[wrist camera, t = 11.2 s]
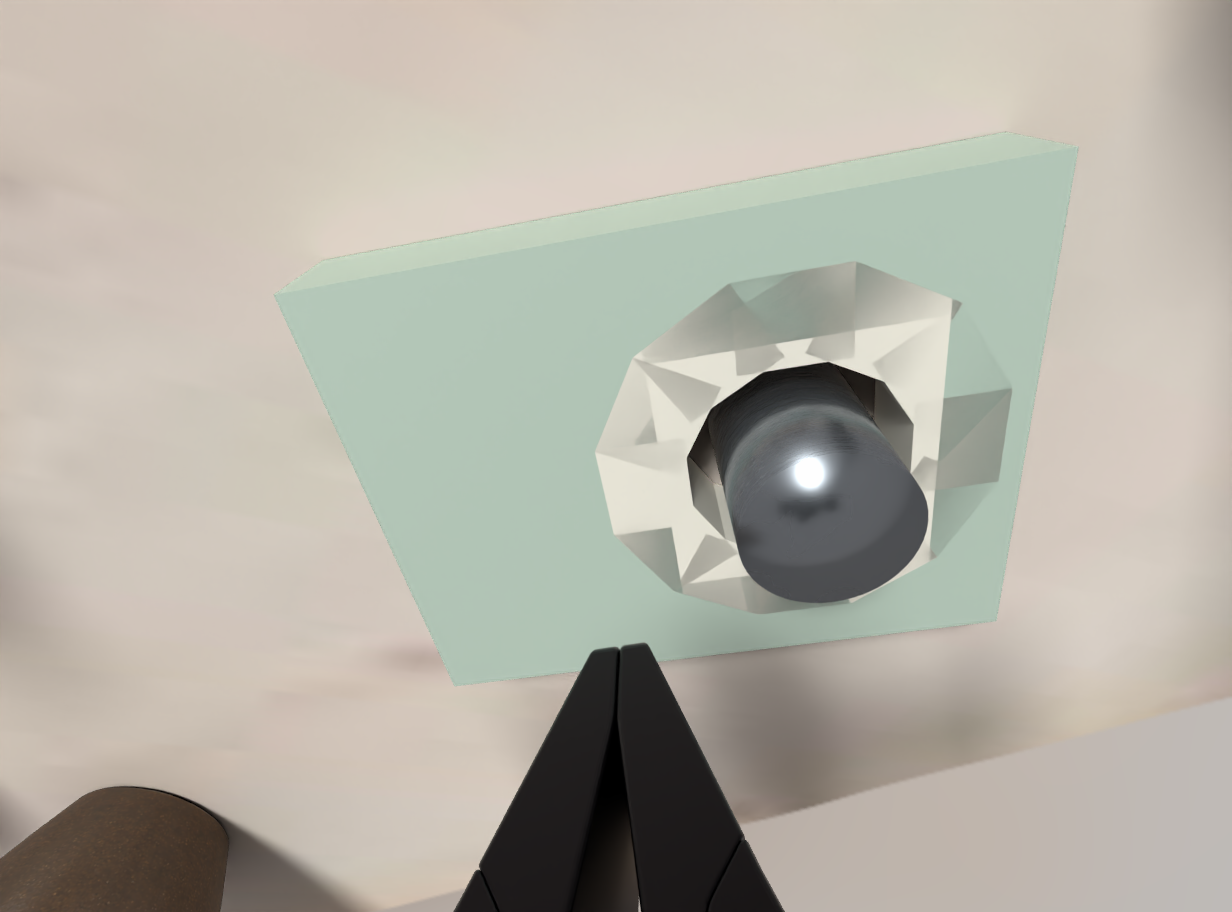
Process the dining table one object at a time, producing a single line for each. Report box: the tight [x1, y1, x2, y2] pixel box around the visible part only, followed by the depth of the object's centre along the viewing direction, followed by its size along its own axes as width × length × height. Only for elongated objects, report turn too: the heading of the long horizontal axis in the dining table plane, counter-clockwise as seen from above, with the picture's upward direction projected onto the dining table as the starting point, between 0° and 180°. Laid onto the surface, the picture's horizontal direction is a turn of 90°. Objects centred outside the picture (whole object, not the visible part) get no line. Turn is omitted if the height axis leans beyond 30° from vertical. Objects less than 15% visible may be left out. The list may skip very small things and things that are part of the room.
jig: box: [274, 132, 1079, 686], centre depth 19 cm, size 18×14×3 cm
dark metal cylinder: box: [708, 362, 928, 603], centre depth 18 cm, size 4×4×6 cm
